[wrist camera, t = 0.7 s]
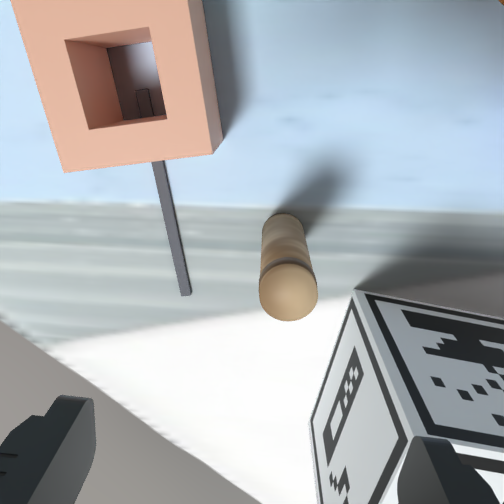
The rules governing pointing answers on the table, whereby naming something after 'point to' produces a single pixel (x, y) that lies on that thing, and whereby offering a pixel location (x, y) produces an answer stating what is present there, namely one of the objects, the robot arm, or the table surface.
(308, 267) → the rounded wooden dowel
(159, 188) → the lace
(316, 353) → the table surface
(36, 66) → the bead terracotta
